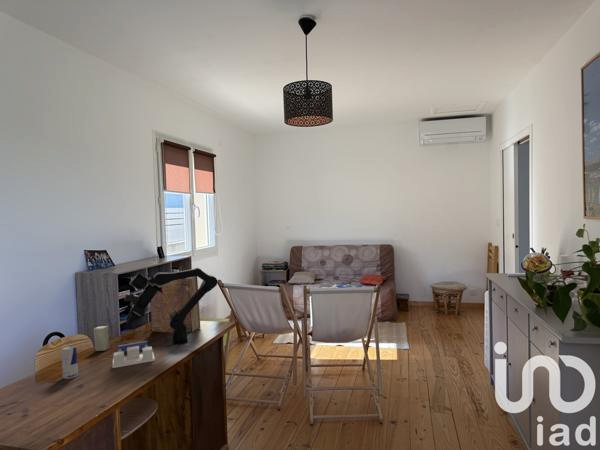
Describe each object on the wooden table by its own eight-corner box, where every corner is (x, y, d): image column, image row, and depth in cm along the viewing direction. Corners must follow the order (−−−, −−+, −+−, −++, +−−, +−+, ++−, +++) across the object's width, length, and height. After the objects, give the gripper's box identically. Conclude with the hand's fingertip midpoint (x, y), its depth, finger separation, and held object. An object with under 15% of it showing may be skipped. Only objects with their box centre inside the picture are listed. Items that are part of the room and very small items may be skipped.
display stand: (113, 360, 184) (112, 349, 184) (153, 354, 191) (152, 343, 191) (112, 368, 175) (111, 356, 175) (154, 360, 182) (153, 349, 181)
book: (200, 328, 231) (197, 275, 230) (192, 333, 222) (188, 278, 221) (161, 327, 238) (158, 276, 237) (151, 332, 229) (148, 278, 228)
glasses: (118, 352, 196) (118, 345, 196) (147, 347, 201) (147, 340, 201) (118, 358, 187) (117, 351, 187) (148, 353, 192) (148, 346, 192)
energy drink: (81, 374, 170) (79, 345, 169) (70, 379, 165) (68, 350, 164) (71, 373, 171) (69, 345, 171) (60, 378, 166) (58, 349, 166)
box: (110, 347, 204) (108, 325, 204) (105, 350, 200) (103, 328, 200) (100, 348, 205) (98, 326, 204) (94, 351, 200) (93, 328, 200)
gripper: (132, 284, 207) (112, 310, 203) (133, 288, 189) (111, 317, 186) (151, 296, 210) (132, 322, 206) (153, 301, 193) (132, 330, 189)
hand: (126, 322), depth 197 cm, fingers open, 9 cm apart
